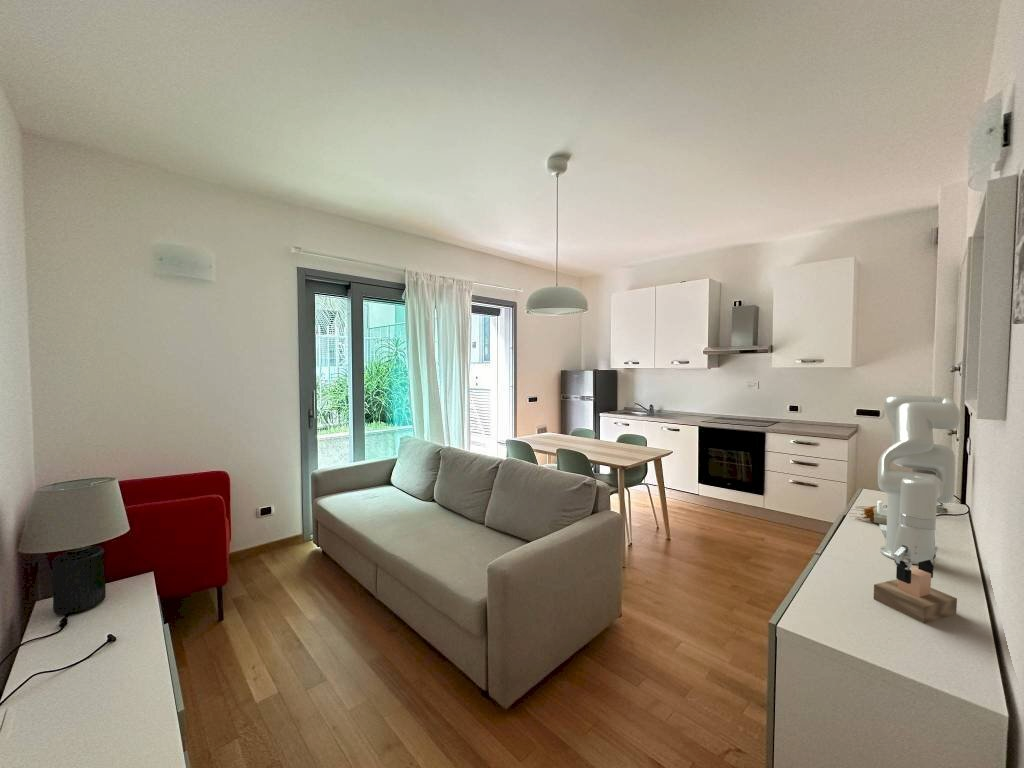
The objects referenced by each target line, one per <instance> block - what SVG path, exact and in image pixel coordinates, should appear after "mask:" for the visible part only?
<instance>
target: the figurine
mask: <svg viewBox="0 0 1024 768" xmlns="http://www.w3.org/2000/svg"><path fill="white" fill-rule="evenodd" d="M876 503H877V504H876V506H877V512H878V514H881V515H886V516H887V509H886V508H883V505H884V504H883V503H884V502H883V501H882V500H877V502H876ZM878 524H879V523H878ZM879 529H880V531H881V533H882V535H883V538H885V539H886V529H887V525H883V524H879Z"/></svg>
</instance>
